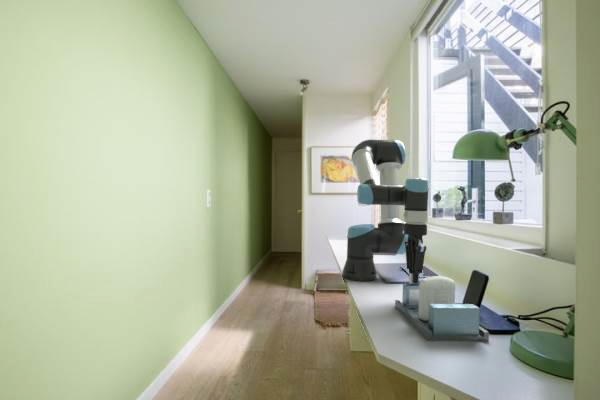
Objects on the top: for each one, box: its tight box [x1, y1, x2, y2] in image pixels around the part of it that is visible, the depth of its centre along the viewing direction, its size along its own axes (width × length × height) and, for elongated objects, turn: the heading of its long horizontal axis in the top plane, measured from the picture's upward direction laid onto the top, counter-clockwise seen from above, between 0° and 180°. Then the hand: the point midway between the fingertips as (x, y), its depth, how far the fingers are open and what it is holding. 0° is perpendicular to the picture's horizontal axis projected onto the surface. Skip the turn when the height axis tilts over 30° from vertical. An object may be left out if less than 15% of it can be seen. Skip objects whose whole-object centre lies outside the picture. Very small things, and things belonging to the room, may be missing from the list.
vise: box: [394, 299, 490, 342], centre depth 93 cm, size 24×16×8 cm, turn 3°
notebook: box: [423, 265, 440, 277], centre depth 154 cm, size 13×2×21 cm
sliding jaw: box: [401, 282, 420, 308], centre depth 103 cm, size 3×12×7 cm, turn 93°
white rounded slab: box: [418, 275, 456, 321], centre depth 93 cm, size 10×4×12 cm, turn 100°
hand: (413, 291), depth 110 cm, fingers closed
